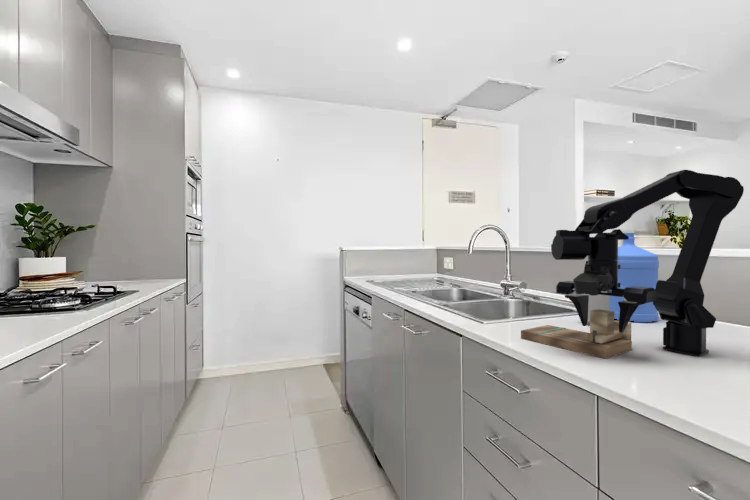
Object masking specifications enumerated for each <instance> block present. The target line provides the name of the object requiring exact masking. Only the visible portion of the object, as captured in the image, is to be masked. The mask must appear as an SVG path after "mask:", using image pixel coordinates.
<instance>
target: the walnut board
mask: <svg viewBox="0 0 750 500" xmlns="http://www.w3.org/2000/svg"><path fill="white" fill-rule="evenodd" d="M588 333H589V332H586V331H581V330H577V329H576V330H575V329H571V328H566V327H560V326H556V325H550V324H546V325H541V326H536V327H532V328H527V329H522V330H520V339H522V340H527V341H530V342H531V341H532V342H535V343H539V344H544V345H546V346H547V345H548V346H551V347H555V348H560V349H563V350H568V351H572V352H576V353H580V354H584V355H589V356H593V357H597V358H600V359H601V358H602V359H604V360H605V359H606V360H607V359H609V358H612V357H616V356H618V355H621V354H624V353H627V352H630V351H632V350H633V349H632V346H633V344H632V343H633V341H632V340H631V341H628V340H623V339H615V340H612V341H608V342H605V343H602V344H601V343H596V342H591V341H587V334H588Z"/></svg>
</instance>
